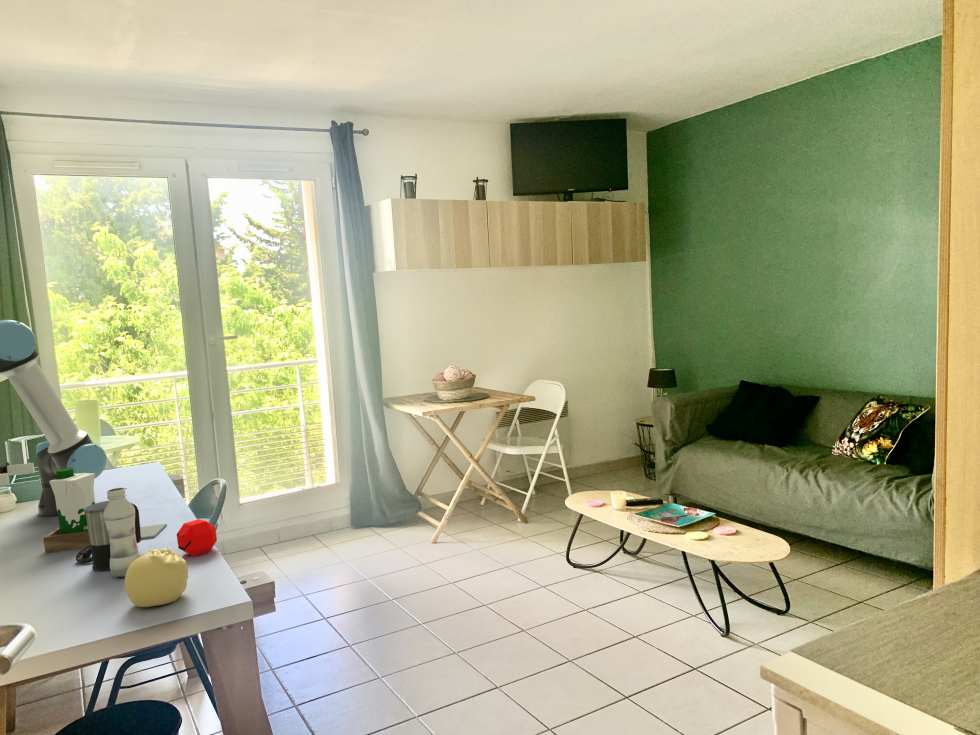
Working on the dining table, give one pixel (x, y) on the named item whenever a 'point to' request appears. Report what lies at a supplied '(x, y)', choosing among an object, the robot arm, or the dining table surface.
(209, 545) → the ball
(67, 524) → the soya milk
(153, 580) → the pale yellow rounded lump
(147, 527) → the mat
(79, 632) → the dining table surface
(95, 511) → the milk frother
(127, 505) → the plastic bottle
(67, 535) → the holder
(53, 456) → the robot arm
